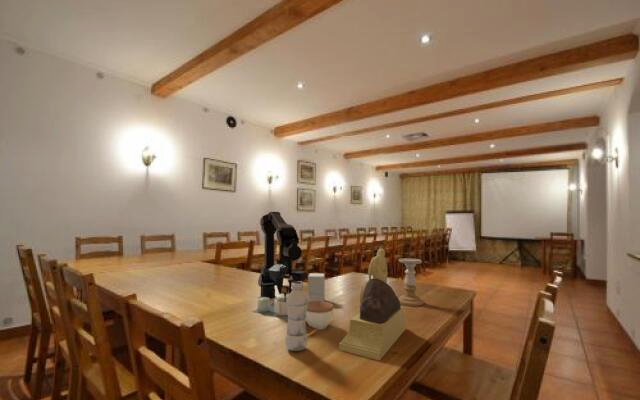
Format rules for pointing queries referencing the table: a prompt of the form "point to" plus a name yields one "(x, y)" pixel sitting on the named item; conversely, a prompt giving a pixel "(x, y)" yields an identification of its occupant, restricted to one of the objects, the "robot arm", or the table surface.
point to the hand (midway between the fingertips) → (285, 294)
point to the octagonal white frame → (280, 306)
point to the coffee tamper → (285, 291)
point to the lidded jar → (319, 314)
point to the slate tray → (272, 313)
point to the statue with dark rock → (375, 315)
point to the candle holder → (410, 284)
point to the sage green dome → (263, 305)
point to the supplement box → (316, 287)
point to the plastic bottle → (296, 318)
